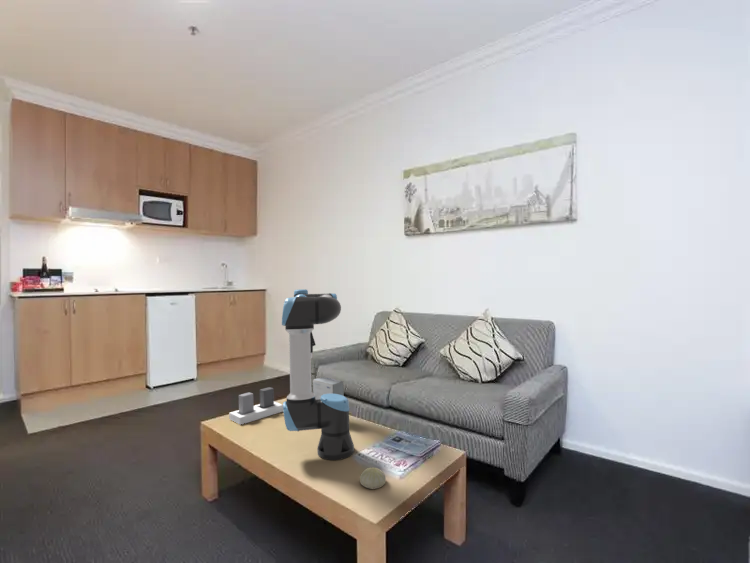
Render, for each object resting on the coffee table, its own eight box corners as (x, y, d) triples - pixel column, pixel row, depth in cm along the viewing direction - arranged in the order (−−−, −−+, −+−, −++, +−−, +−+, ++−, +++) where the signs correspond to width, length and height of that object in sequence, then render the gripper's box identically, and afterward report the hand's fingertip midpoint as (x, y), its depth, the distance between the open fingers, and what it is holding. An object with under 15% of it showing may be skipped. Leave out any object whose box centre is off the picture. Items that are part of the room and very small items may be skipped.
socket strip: (283, 411, 212) (282, 388, 212) (240, 425, 194) (239, 399, 194) (272, 406, 220) (271, 384, 219) (229, 419, 202) (228, 395, 201)
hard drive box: (344, 420, 198) (344, 381, 197) (333, 425, 192) (332, 384, 191) (324, 413, 208) (323, 376, 207) (312, 418, 202) (312, 379, 201)
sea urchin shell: (385, 470, 144) (385, 462, 139) (385, 494, 139) (385, 487, 133) (360, 470, 145) (359, 462, 139) (360, 494, 139) (358, 487, 133)
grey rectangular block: (274, 410, 212) (273, 388, 212) (264, 413, 208) (263, 391, 207) (269, 408, 215) (269, 387, 214) (260, 411, 210) (259, 389, 210)
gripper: (321, 318, 207) (322, 359, 208) (293, 315, 224) (294, 352, 225) (310, 320, 202) (311, 361, 202) (282, 317, 219) (283, 355, 219)
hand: (302, 357), depth 214 cm, fingers open, 13 cm apart
